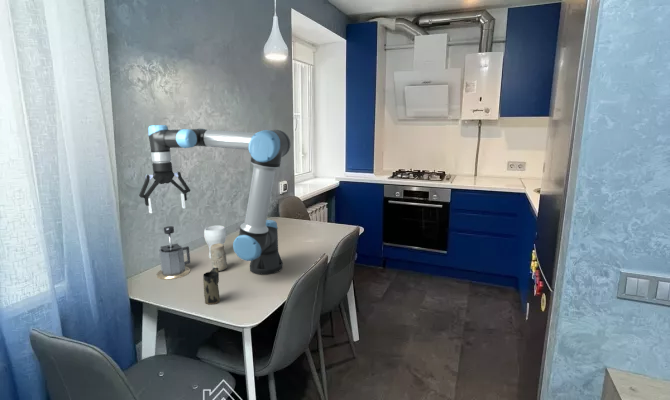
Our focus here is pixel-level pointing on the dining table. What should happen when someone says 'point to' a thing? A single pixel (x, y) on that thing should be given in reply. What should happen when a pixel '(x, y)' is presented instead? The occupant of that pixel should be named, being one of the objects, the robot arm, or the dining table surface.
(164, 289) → the dining table surface
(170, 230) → the black knob on rod
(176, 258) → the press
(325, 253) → the dining table surface
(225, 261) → the carving
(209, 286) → the mug
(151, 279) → the dining table surface
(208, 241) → the cup
